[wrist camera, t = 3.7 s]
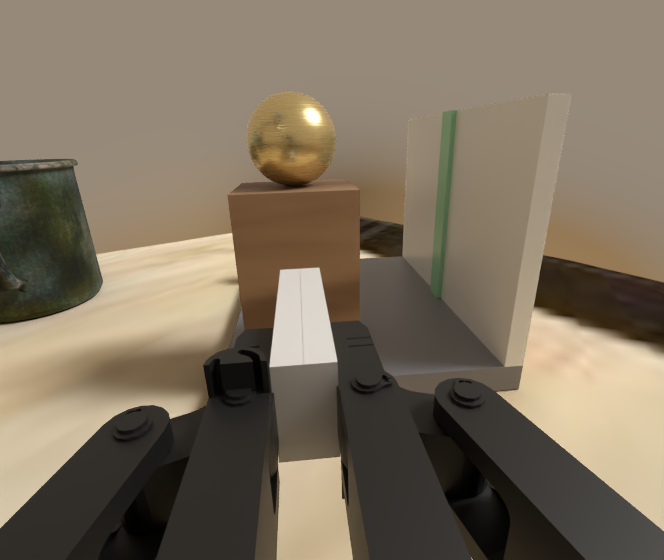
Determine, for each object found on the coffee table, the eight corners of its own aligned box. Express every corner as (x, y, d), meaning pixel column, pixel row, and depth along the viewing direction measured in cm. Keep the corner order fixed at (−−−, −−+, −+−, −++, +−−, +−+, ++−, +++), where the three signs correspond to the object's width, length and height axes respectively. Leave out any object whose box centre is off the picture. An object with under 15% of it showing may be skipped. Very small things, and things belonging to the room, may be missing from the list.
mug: (113, 272, 41) (84, 157, 37) (100, 327, 29) (55, 164, 24) (-12, 290, 37) (-60, 163, 33) (-90, 364, 24) (-185, 175, 20)
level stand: (518, 389, 20) (572, 93, 15) (219, 414, 19) (167, 101, 14) (411, 269, 39) (419, 118, 34) (256, 278, 38) (240, 123, 33)
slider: (359, 357, 20) (359, 82, 16) (248, 365, 20) (213, 85, 15) (347, 316, 25) (344, 95, 20) (257, 322, 25) (232, 98, 20)
